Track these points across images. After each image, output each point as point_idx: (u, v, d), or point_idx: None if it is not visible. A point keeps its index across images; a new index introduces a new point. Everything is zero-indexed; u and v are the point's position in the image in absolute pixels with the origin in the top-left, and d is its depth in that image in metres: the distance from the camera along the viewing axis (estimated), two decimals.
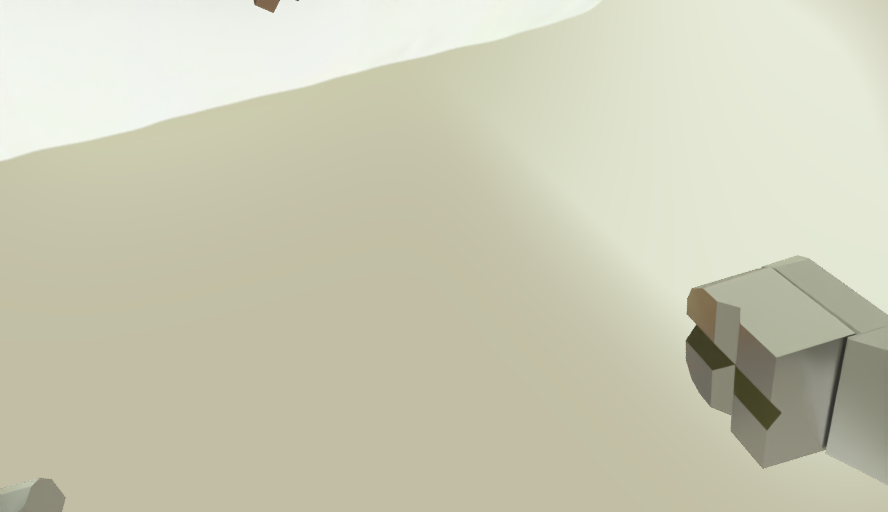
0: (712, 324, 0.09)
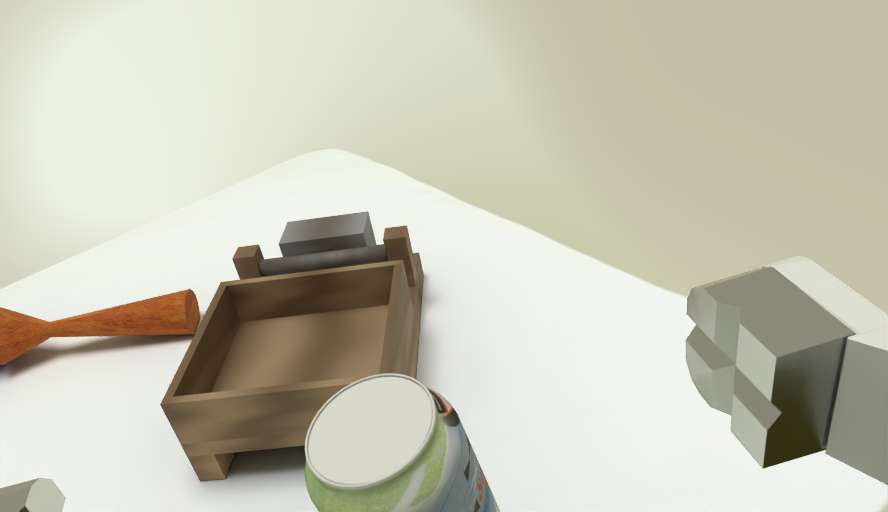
0: (712, 324, 0.09)
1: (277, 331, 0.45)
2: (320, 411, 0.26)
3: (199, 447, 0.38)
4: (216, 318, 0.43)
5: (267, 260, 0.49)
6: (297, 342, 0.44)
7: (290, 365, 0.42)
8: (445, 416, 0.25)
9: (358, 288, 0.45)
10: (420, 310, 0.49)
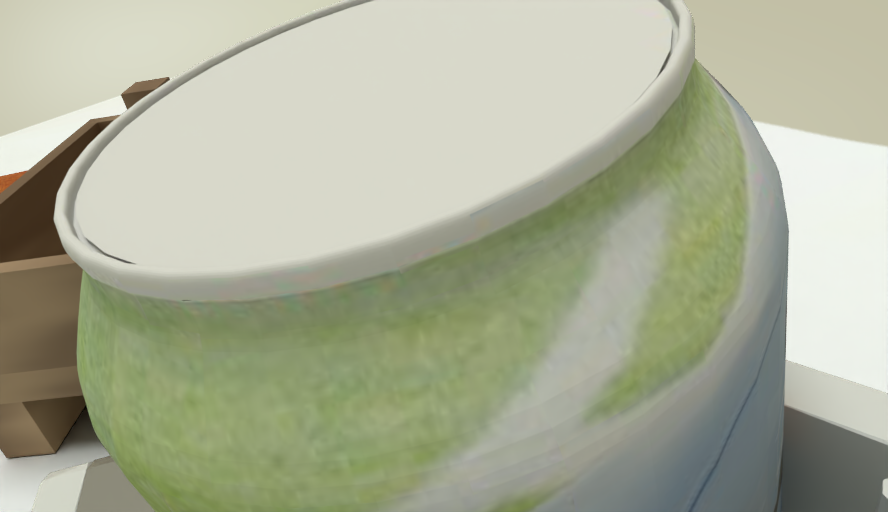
0: None
1: None
2: (179, 80, 0.07)
3: None
4: (68, 167, 0.24)
5: None
6: None
7: None
8: None
9: None
10: None
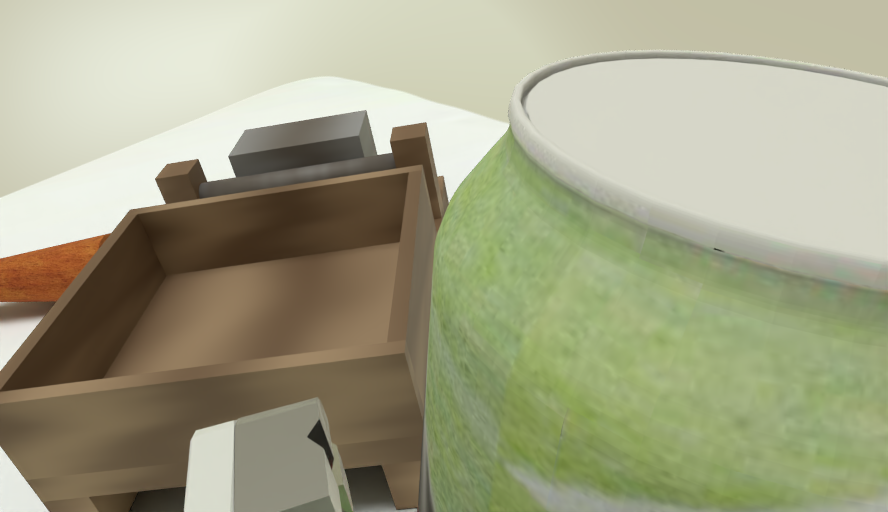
0: None
1: (220, 286, 0.28)
2: (573, 62, 0.07)
3: (60, 484, 0.21)
4: (114, 263, 0.26)
5: (211, 182, 0.31)
6: (251, 302, 0.26)
7: (236, 338, 0.25)
8: None
9: (351, 214, 0.28)
10: None
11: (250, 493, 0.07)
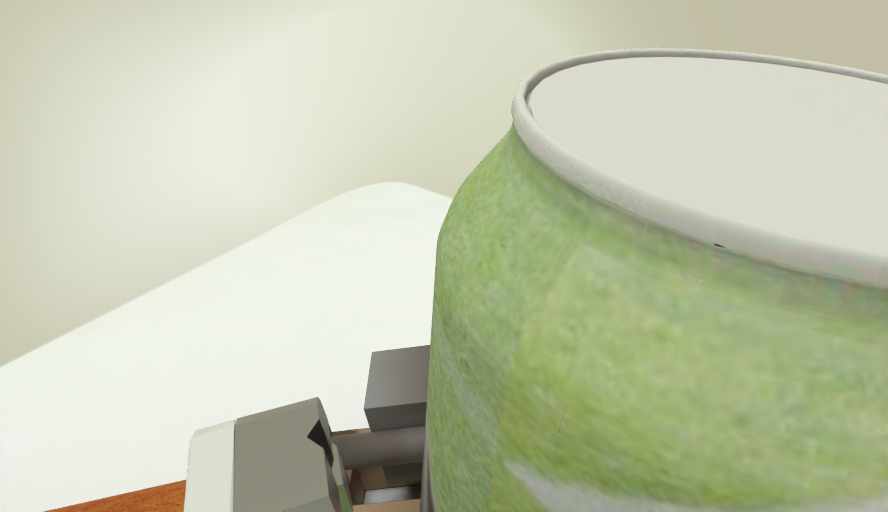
0: None
1: None
2: (579, 59, 0.07)
3: None
4: None
5: (341, 441, 0.24)
6: None
7: None
8: None
9: None
10: None
11: (250, 493, 0.07)
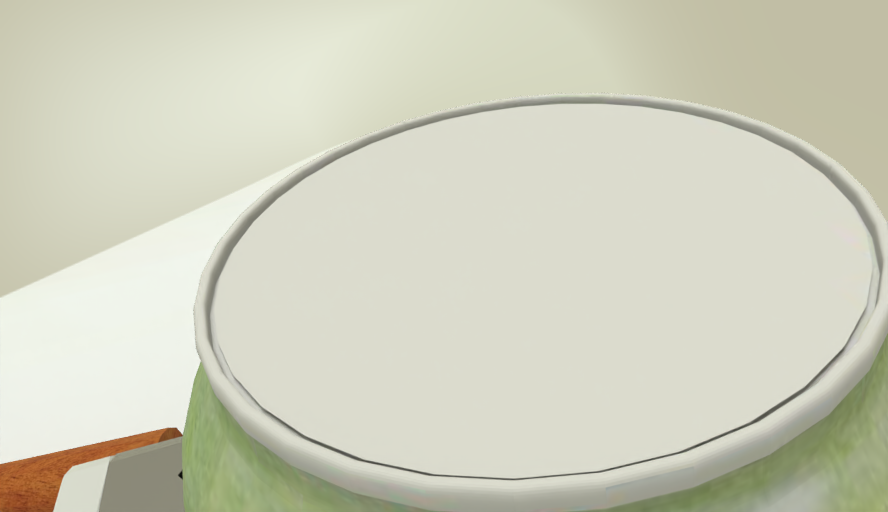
0: None
1: None
2: (337, 153, 0.07)
3: None
4: None
5: None
6: None
7: None
8: None
9: None
10: None
11: None
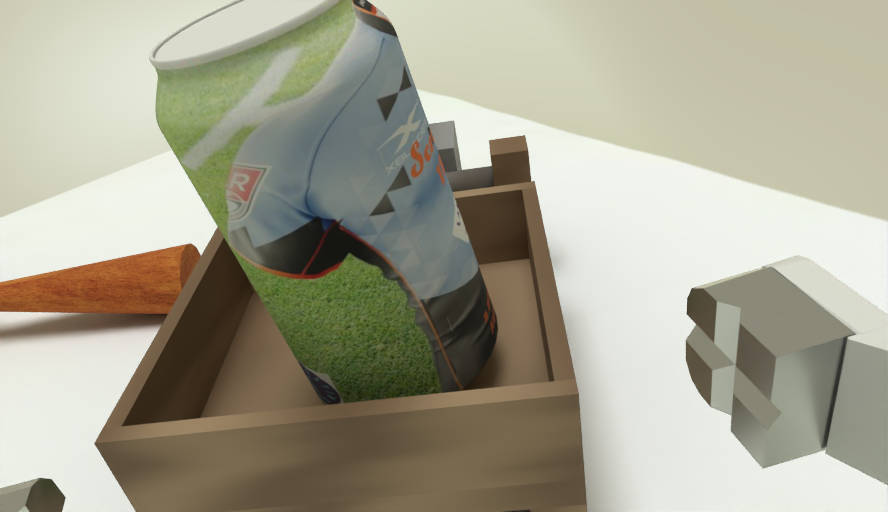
0: (712, 324, 0.09)
1: None
2: (206, 15, 0.18)
3: None
4: (212, 281, 0.24)
5: None
6: None
7: None
8: (365, 13, 0.16)
9: None
10: None
11: None
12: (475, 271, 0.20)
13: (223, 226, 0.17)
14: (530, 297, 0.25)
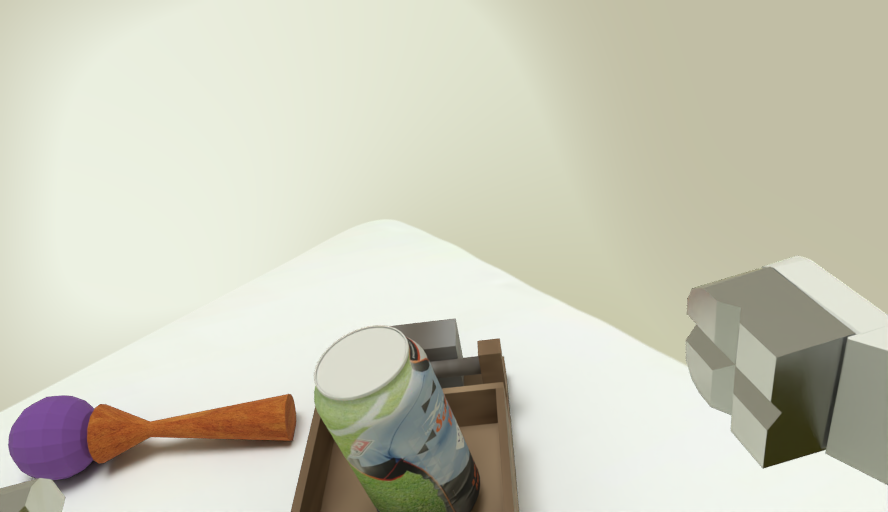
0: (712, 324, 0.09)
1: None
2: (334, 344, 0.36)
3: None
4: (317, 445, 0.42)
5: None
6: None
7: None
8: (415, 362, 0.34)
9: (457, 409, 0.44)
10: (510, 420, 0.49)
11: None
12: (467, 460, 0.38)
13: (345, 454, 0.35)
14: None
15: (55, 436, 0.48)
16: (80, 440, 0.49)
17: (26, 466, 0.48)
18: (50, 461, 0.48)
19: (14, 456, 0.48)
